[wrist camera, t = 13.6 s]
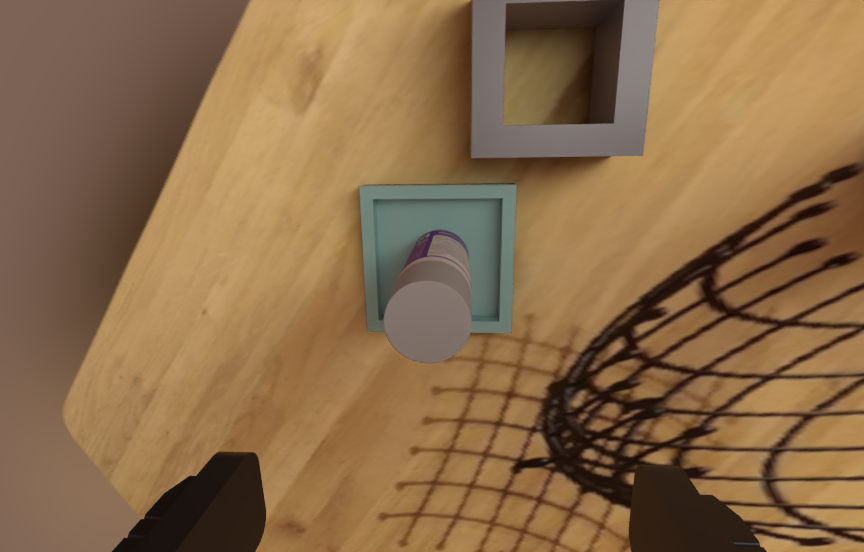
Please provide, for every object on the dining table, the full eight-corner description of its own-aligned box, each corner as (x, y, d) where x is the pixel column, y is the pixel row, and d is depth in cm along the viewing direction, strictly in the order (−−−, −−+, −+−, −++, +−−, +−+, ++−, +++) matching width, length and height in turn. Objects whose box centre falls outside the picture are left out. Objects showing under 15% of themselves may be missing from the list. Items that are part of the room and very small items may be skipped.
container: (421, 290, 37) (397, 375, 23) (404, 238, 36) (368, 292, 22) (475, 276, 37) (485, 353, 22) (459, 222, 36) (459, 266, 21)
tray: (513, 183, 35) (516, 184, 33) (508, 324, 38) (511, 333, 36) (364, 184, 36) (359, 186, 34) (371, 322, 39) (367, 331, 37)
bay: (626, -5, 31) (663, -42, 26) (612, 155, 34) (642, 155, 28) (470, 0, 32) (473, -34, 26) (469, 157, 35) (471, 158, 29)
